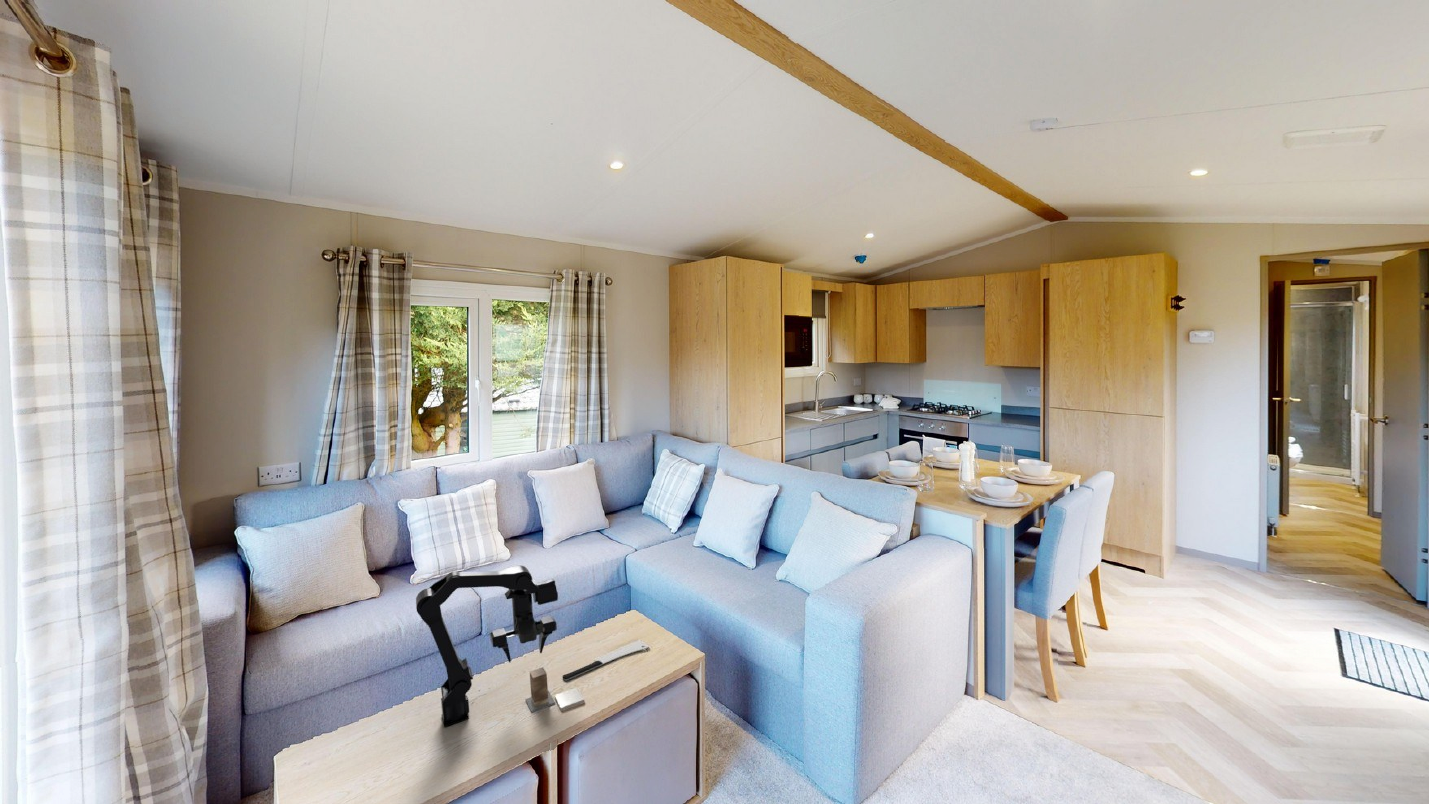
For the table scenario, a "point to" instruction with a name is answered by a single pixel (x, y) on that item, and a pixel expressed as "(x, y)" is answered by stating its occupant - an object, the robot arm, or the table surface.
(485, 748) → the table surface
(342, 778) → the table surface
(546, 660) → the table surface
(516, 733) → the table surface
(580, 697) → the tile
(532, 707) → the pad
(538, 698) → the wooden post stub
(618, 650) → the kitchen cleaver
